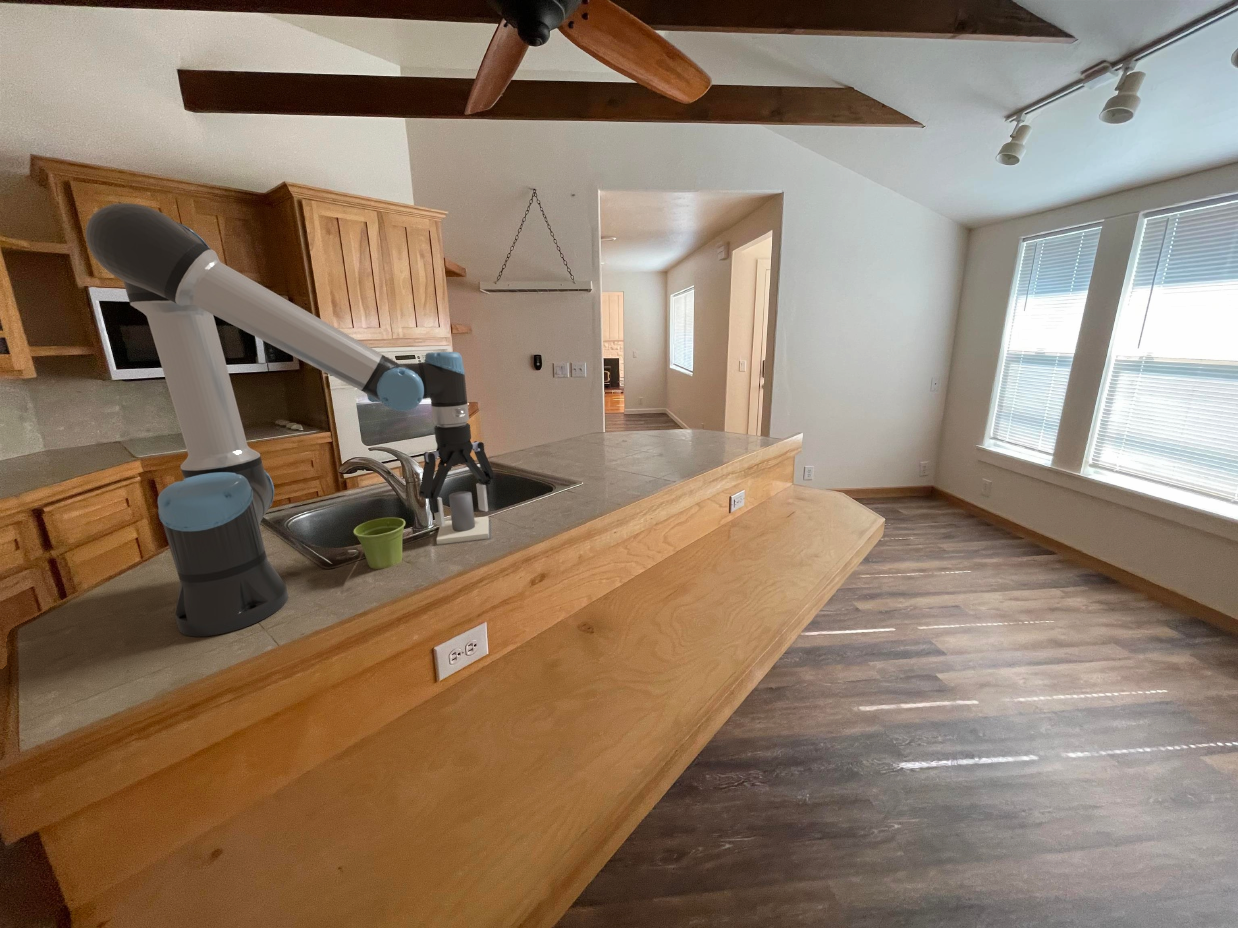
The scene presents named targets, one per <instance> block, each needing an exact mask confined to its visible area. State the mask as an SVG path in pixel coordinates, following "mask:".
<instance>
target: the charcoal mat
mask: <svg viewBox="0 0 1238 928" xmlns="http://www.w3.org/2000/svg"><path fill="white" fill-rule="evenodd" d="M491 526H492V520H491V519H489V538H488V539H480V540H471V541H463V542H455V543H446V544H438V545H437V536H438V532H439V530H437V531H438V532H437V535H436V538H435V542H434V547H438V546H446V545H452V544H453V545H454V544H455V545H456V544H461V543H463V544H464V543H471V542H472V543H473V542H479V541H488V540H492V527H491ZM439 528H440V526H438V529H439Z"/></svg>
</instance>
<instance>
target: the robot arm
mask: <svg viewBox="0 0 1238 928" xmlns="http://www.w3.org/2000/svg"><path fill="white" fill-rule="evenodd" d="M85 241H86V244H87V246H88V250H89V252H90V253H91V254H92V256H93V258H94V259H95V260H96V261H97V263H98V264H99V265H101V267H102V268H103V269H104V270H106V271H107V272H108V273H109V274H111V275H112V276H114V277H116V278H117V279H119V280H121V281H122V283H123V287H124V290H125V292H126V294H127V298H128V301H129V305H130V306H131V307H133V308H134V309H137V310H138V311H139V312H141V313H143V314H144V315H145V316H146V318H147V322H148V325H149V329H150V333H151V335H152V338H153V343H154V344H155V348H156V352H157V355H158V357H159V362H160V365H161V368H162V372H163V374H164V377H165V381H166V385H167V388H168V391H169V394H170V398H171V399H170V400H171V402H172V404H173V408H174V411H175V414H176V418H177V422H178V424H179V428H180V431H181V434H182V438H183V442H184V445H185V448H186V452H187V458H185V460H184V461H183V462H182V463H181V464H180V471H181V474H182V476H183V480H182V481H181V480H180V481H176V482H173V483H171V484H169V485H168V486H166V487H165V488H164V489H162V491H160V493H159V495H158V496H157V506H158V509H157V511H158V512H157V513H158V518H159V520H160V522H161V523H162V525H163V526H162V527H163V529H164V530H163V531H164V533H165V536H166V539H167V543H168V546H169V549H170V550H169V551H170V552H171V556H172V559H173V563H174V566H175V569H176V572H177V576H178V579H179V589H178V590H179V591H178V596H177V602H176V609H175V615H174V616H175V621H176V625H177V628H178V631H179V633H181V634H182V635H185V636H189V637H211V636H217V635H221V634H226V633H230V632H233V631H234V632H235V631H238V630H241V629H243V628H246V627H248V626H249V627H250V626H251V625H254V624H256V623H258V622H260V621H263V620H264V619H267V618H268V617H270V616H271V615H274V614H275V613H276V612H278V611H279V610H280V609H282V607H283V606H284V605H286V603H287V602H288V600H289V592H288V590H287V589H288V588H287V584H286V583H285V581H284V580H283V578H282V577H281V576H280V574H279V573H278V572H277V570H276V569H275V568H274V567H273V565H272V564H271V563H270V561H269V559H268V556H267V552H266V549H265V548H266V547H265V545H264V540H263V535H262V530H261V527H260V524H261V522H262V520H263V519H264V517H265V515H266V513H268V511H269V510H270V508H271V506H272V504H273V502H274V497H275V487H274V483H273V480H272V478H271V476H270V474H269V473H268V472H267V471H266V470H265V468H264V463H263V461H262V457H261V454H260V452H258V451H256V450H254V449H253V448H251V447H250V446H248V442H247V439H246V435H245V430H244V425H243V423H242V420H241V415H240V412H239V408H238V405H237V400H236V397H235V392H234V389H233V385H232V382H231V377H230V374H229V370H228V366H227V363H226V357H225V355H224V351H223V347H222V344H221V339H220V336H219V335H220V334H219V332H218V329H217V325H216V320H215V317H217V318H218V319H220V320H223V321H225V322H226V323H228V324H231V325H233V326H234V327H236V328H238V329H241V330H243V332H245V333H248V334H250V335H252V336H254V337H256V338H258V339H260V340H262V341H264V342H265V343H267V344H270V345H271V346H273V347H275V348H276V349H278V350H281V351H283V352H285V353H287V354H289V355H291V356H293V357H295V358H297V359H298V360H300V361H303V362H304V363H307V364H309V365H310V366H312V367H314V368H316V369H318V370H320V371H322V372H324V373H326V374H328V375H330V376H331V377H333V378H336V379H338V380H340V381H341V382H343V383H346V384H348V385H349V386H352V387H353V388H355V389H357V390H358V391H361V392H362V393H364V394H366V395H367V400H368V401H369V402H371V403H382V404H383V405H384V406H385V407H387V408H389V409H391V410H394V411H396V412H407V411H411V410H413V409H415V408H417V406H418V405H420V404H421V402H422V400H424V399H430V404H431V405H430V406H431V414H432V415H431V416H432V422H433V424H434V425H435V426H434V427H433V430H434V436H435V437H434V438H435V439H434V440H435V442H436V450H433V451H431V452H428V451H425V452H424V453H423V459H424V465H423V471H422V475H421V481H420V487H419V491H418V496H419V497H421V498H423V499H425V500H426V499H427V500H428V504H429V510H430V512H431V513H433V515H434V523H435V525H437V526H438V527H440V526H441V527H443V526H445V521H446V519H445V514H444V504H443V498H442V497H439V496H440V493H441V491H442V488H443V486H444V484H445V481H446V479H447V476H448V474H449V472H450V471H451V470H452V468H453V467H456V466H459V465H465V466H466V468H467V469H469V471H470V472H471V473H472V475H473V476H474V477H475V478H476V480H477V481H478V482H477V483H476V484H475V486H476V493H477V495H476V496H477V503H478V510H480V511H483V512H485V513H486V512H488V511H489V505H488V497H489V496H490V490H489V486H490V484H491V483H492V480H494V479H495V478H496V476H495V475H496V474H495V473H494V471H493V468H492V465H491V464H490V462H489V461H490V460H489V459H488V456H487V454H486V452H485V443H484V442H483V441H476V440H475V441H473V442H471V441H472V440H471V439H472V432H471V424H470V423H468V422H469V421H470V415H469V406H468V405H469V404H468V398H467V397H468V396H467V394H468V393H467V385H466V372H465V367H464V362H463V361H464V360H463V357H462V355H461V353H459V352H458V351H436V352H434V351H433V352H432V351H431V352H427V353H426V354H425V356H424V358H425V359H424V361H422V362H417V363H416V362H414V363H413V362H411V363H399V362H397V361H395V360H393V359H392V358H389V357H387V356H386V355H384V354H382V353H381V352H379V351H377V350H375V349H374V348H372V347H370V346H368V345H367V344H365V343H364V342H362V341H360V340H358V339H357V338H354V337H353V336H351V335H350V334H347V333H345V332H344V331H342V330H340V329H338V328H337V327H335V326H333V325H332V324H331V323H328V322H326V321H325V320H322V319H321V318H320V317H318V316H316V315H314V314H313V313H310V312H309V311H307V310H305V309H304V308H302V307H301V306H299V305H296V304H295V303H293V302H291V301H289V300H288V299H286V298H284V297H282V296H281V295H279V294H277V293H275V292H274V291H272V290H270V289H269V288H267V287H265V286H264V285H262V284H259V283H258V282H256V281H255V280H252V278H249V277H247V276H246V275H244V274H242V273H240V272H239V271H237V270H236V269H234V268H231V267H230V266H228V265H226V264H224V263H223V262H222V261H220V258H219V256H218V254H217V252H216V251H215V250H214V249H212V248H210V246H209V245H208V244H207V243H206V242H205V241H204V239H203V238H202V237H201V236H200V235H199V234H198V233H197V232H195V231H194V230H192V229H191V228H189V227H188V226H185V225H184V224H182V223H180V222H177V221H176V220H174V219H172V218H171V217H170V216H168V215H166V214H164V213H162V212H161V211H159V210H156V209H154V208H152V207H149V206H146V205H142V204H136V203H130V202H129V203H128V202H125V203H124V202H123V203H122V202H121V203H120V202H119V203H112V204H109V205H106V206H104V207H100V208H99V209H98V210H96V211H94V213H93V214H92V215H91V217H90V218H89V219H88V222H87V224H86V226H85ZM214 316H215V317H214ZM472 451H473V452H474V456H475V457H476V459H477V462H478V464H479V466H480V467H479V466H478V465H477V463H476V461H475V459H474V458H473V456H472V455H471V453H472ZM438 458H439V461H438ZM437 461H438V464H436V462H437ZM436 465H437V470H436ZM435 470H436V471H435Z"/></svg>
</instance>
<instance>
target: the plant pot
mask: <svg viewBox="0 0 1238 928" xmlns="http://www.w3.org/2000/svg"><path fill="white" fill-rule="evenodd" d="M405 526H406V521H405V519H403V518H400V517H393V516H392V517H381V518H375V519H371V520H368V521H365V522H363V523H360V524H359V525H357V526H356V527H355V528H354V529H353V535H354V536H355V537H356V538H357V540H358V541H359V542H360V546H361V548H362V550H363V553H364V557H365V558H366V562H367V564H368V566H369V568H371V569H375V570H380V569H387V568H391V567H394V566H396V565H397V564H399V563H400V562H402V560H403V535H404V534H403V533H404V530H405V528H404V527H405Z"/></svg>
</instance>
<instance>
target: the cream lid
mask: <svg viewBox="0 0 1238 928" xmlns="http://www.w3.org/2000/svg"><path fill="white" fill-rule="evenodd" d="M472 494H473V493H472V492H471V491H467V490H466V491H464V490H463V491H456V492H452V493H450V494H449V495H448V502H449V510H450V518H451V519H449V520H445V526H443V527H441V526H439V527H440V528H439V527H438V531H439V532H437V534H438V536H437V535H436V538H437V545H438V544H446V543H455V542H463V541H471V540H480V539H488V538H489V520H490V519H489V515H486V516H479V517H475V516H474V515H475V513H474V504H473V495H472ZM480 541H481V540H480ZM455 544H456V543H455Z"/></svg>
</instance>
